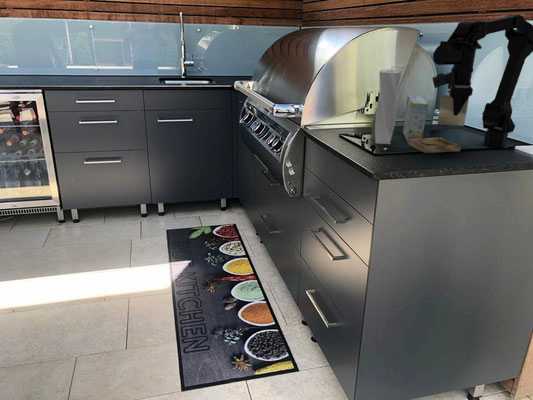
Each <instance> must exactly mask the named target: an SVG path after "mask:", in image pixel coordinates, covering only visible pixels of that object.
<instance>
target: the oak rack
mask: <svg viewBox="0 0 533 400" xmlns="http://www.w3.org/2000/svg"><path fill="white" fill-rule="evenodd" d="M423 140H425V141H428V142H431V143H433V144H434V146H426V145H424V144H422V143H420V142H418V141H423ZM407 146H410V147H412V148H414V149H415V150H418V151H420V152H422V153H425V154H430V153H431V154H432V153H433V154H434V153H448V152H449V153H450V152H461V149H462V145H461V144H458V143H456V142H453V141H450V140H448V139H445V138H443V137H429V138H428V137H426V138H422V139H409V141H408V142H407Z"/></svg>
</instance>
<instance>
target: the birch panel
mask: <svg viewBox="0 0 533 400" xmlns="http://www.w3.org/2000/svg"><path fill="white" fill-rule="evenodd" d="M440 97H441V98H440V104H439V111H438V116H437V125H443V126H455V127H456V126H459V127H460V126H461V127H465V121H466V119H467V112H468V111H467V110H468V105H469V99H470V97H469V98H468V99H467V101H466V102H465V104H464V106H463V107H462V109H461V110H460V112H459V114H458V115H457V116H454V113H453V98H452V97H451V96H450V95H449V94H448V95H447V94H445V95H444V94H441V96H440Z"/></svg>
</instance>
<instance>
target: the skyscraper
mask: <svg viewBox="0 0 533 400" xmlns="http://www.w3.org/2000/svg"><path fill="white" fill-rule="evenodd" d="M396 67H402V68H401V71H400V72H399V71H396V69H394V68H396ZM404 67H405V66H404V65H403V64H395V65H393V66H392V67H391V68H388V69H381V70H379V73H378V74H379V75H378V77H379V96H378V100H377V105H376V108H375V111H374V115H373V117H374V118H373V120H372V128H371V131H370V134H371V135H370V136H371V137H370V140H371V141H375V142H374V143H375V144H379V145H391V141H392V139H393V133H394V129H395V124H396V120H397V111H398V109H397V108H398V102H397V99H398V98H397V92H398V89H399V84H400V81H401V77H402V72H403V70H404Z"/></svg>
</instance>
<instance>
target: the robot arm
mask: <svg viewBox="0 0 533 400" xmlns="http://www.w3.org/2000/svg"><path fill="white" fill-rule="evenodd" d="M503 31H504V36H505V39H506V40H507V46H506V48H507V52H508V59H507V61H506V64H505V68H504V71H503V73H502V76H501V80H500V81H499V85H498V88H497V91H496V94H495V96H494V99H493V100H492V101H491V102H486V103H485V105H484V110H483V112H482V113H481V114H482V117H481V121H482V127H483V129H487V130H486V133H485V134H484V139H483V146H485V147H487V148H488V147H489V148H490V147H491V148H498V149H499V148H500V149H503V150H509V146H506V145H507V140H508V135H509V134H511V133H513V132H514V131H515V129H516V125H515V122H514V121H513V119H512V114H513V107H512V103H511V101H512V99H513V96H514V92H515V89H516V87H517V85H518V81H519V79H520V76H521V72H522V70H523V67H524V64H525V61H526V59H527V58H528V57H529V56H530V55H532V53H533V24H532V23H530V22H529V21H527V20H526V18H524V16H523V15H521V14H508V15H505V16H502V17H501V16H500V17H496V18H492V19H487V20H463V21H460V22H458V23H457V26H456V28H455V29H454V30H453V32H452V33H451V34H450V36H449V38H448V40H446V41H445V40H444V41H443V40H442V41H440V42H439V45H438V46H437V47H436V48H435V50H434V52H433V54H432V59H433V62H434V63H435V65H438V66H449V65H450V66H452V67H451V69H450V70H451V71H450V72H446V73H443V72H441V73H437V75H435V76H433V77H431V78H432V83H433V86H434V89H436V88H440V87H441V86H445V85H447V90H448V91H447V92H448V95H450V96H451V97H452V98H453V113H454V116H457V115H458V114H459V112H460V110H461V109H462V107H463V106H464V104H465V102H466V101H467V99H468V98H469V99H470V96H471V97H472V96H473V91H474V89H473V87H472V86H471V85H472V81H471V80H472V75H473V73H474V64H475V57H476V51H477V50H481V49H482V47H483V46H482V45H481V44H480V43H479V41H480V40H482V39H484V38H486V36H488V35H490V34H496V33H498V32H499V33H500V32H503Z"/></svg>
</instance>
